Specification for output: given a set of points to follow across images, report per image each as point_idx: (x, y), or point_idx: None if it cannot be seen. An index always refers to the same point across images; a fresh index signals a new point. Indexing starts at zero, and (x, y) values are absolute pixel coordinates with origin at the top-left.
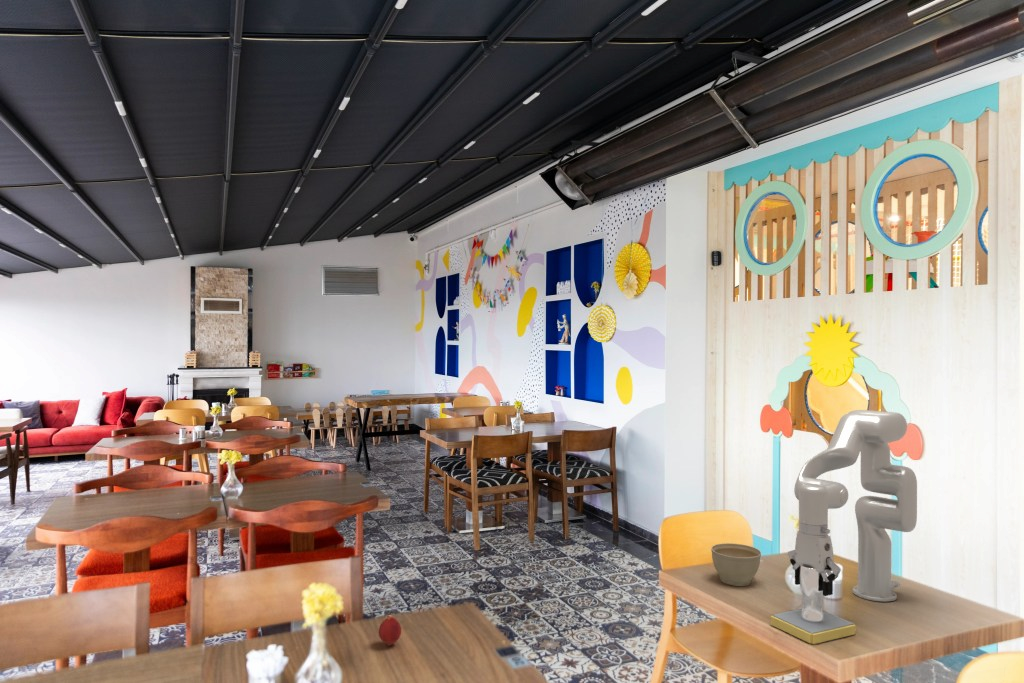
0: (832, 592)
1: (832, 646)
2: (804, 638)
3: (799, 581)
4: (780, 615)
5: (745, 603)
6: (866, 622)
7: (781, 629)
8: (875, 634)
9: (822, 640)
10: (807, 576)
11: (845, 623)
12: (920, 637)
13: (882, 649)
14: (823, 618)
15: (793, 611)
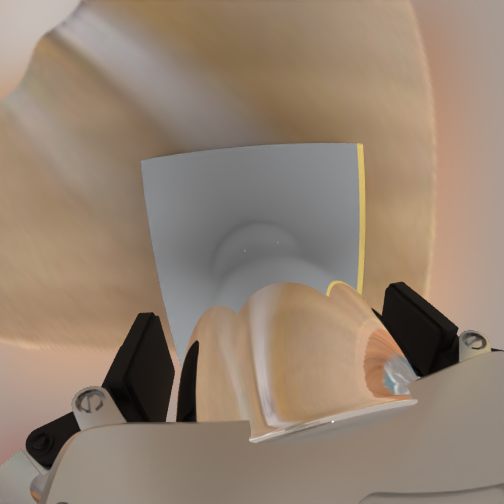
0: (404, 285)
1: (373, 286)
2: None
3: (166, 366)
4: None
5: (30, 300)
6: (268, 22)
7: None
8: (360, 81)
9: None
10: None
11: (346, 175)
12: (400, 8)
13: (435, 167)
14: (302, 250)
15: (168, 284)
